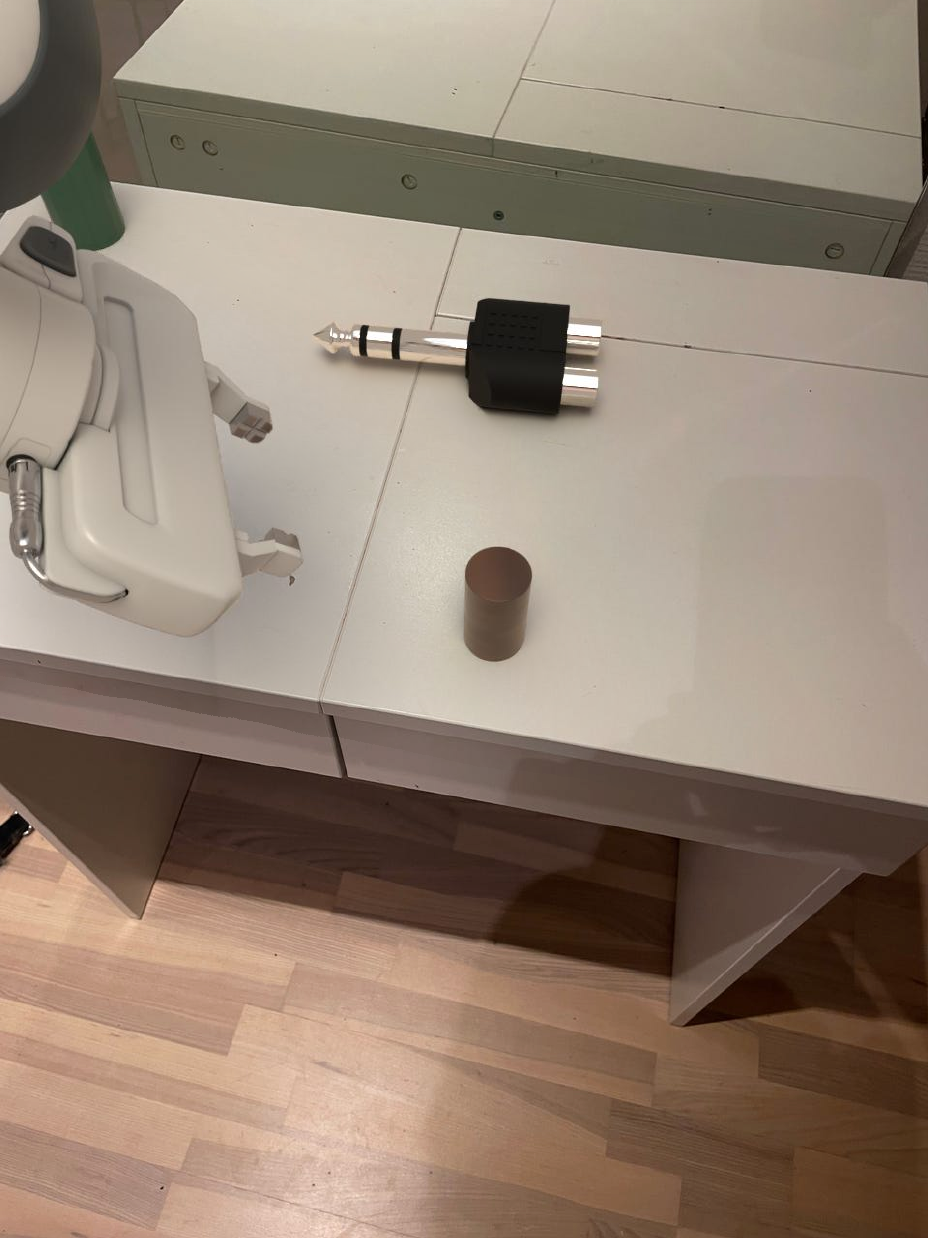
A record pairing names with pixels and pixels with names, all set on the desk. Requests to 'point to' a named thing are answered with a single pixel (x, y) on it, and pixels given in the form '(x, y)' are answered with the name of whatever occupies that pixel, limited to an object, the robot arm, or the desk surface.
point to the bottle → (86, 202)
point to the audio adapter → (495, 353)
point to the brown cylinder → (496, 602)
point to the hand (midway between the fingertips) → (279, 489)
